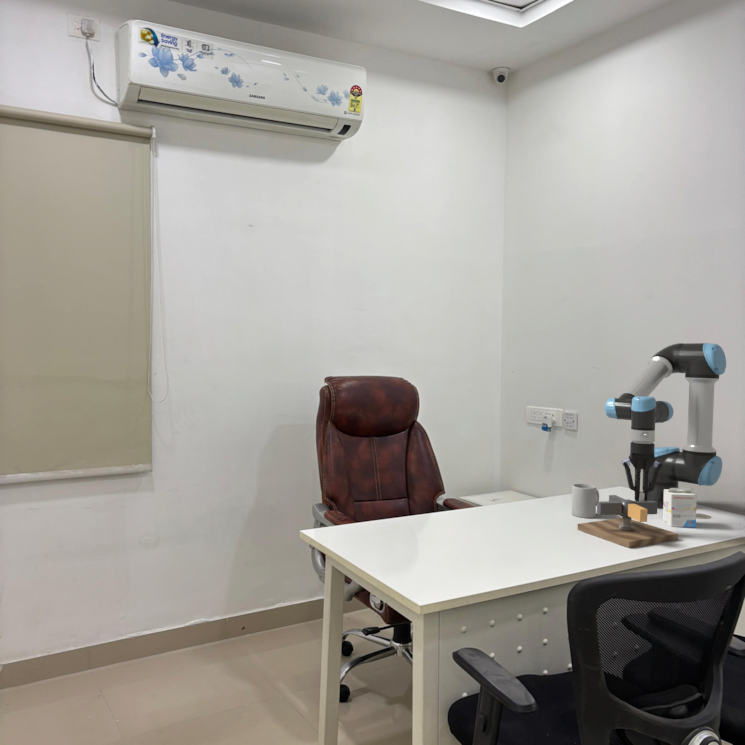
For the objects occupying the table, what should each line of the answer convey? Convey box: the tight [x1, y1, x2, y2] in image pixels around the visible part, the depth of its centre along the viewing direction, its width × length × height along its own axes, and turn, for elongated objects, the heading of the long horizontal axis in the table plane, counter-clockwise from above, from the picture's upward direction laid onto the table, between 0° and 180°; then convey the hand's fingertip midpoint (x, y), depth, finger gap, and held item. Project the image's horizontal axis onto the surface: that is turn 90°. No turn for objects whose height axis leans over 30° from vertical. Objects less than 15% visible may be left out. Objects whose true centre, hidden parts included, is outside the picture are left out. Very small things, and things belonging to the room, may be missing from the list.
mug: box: [571, 483, 600, 519], centre depth 237 cm, size 12×8×11 cm
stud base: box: [577, 516, 679, 549], centre depth 212 cm, size 22×22×6 cm
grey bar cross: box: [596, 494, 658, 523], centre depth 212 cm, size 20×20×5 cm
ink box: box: [662, 487, 698, 528], centre depth 226 cm, size 9×8×13 cm
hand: (640, 510), depth 216 cm, fingers closed
